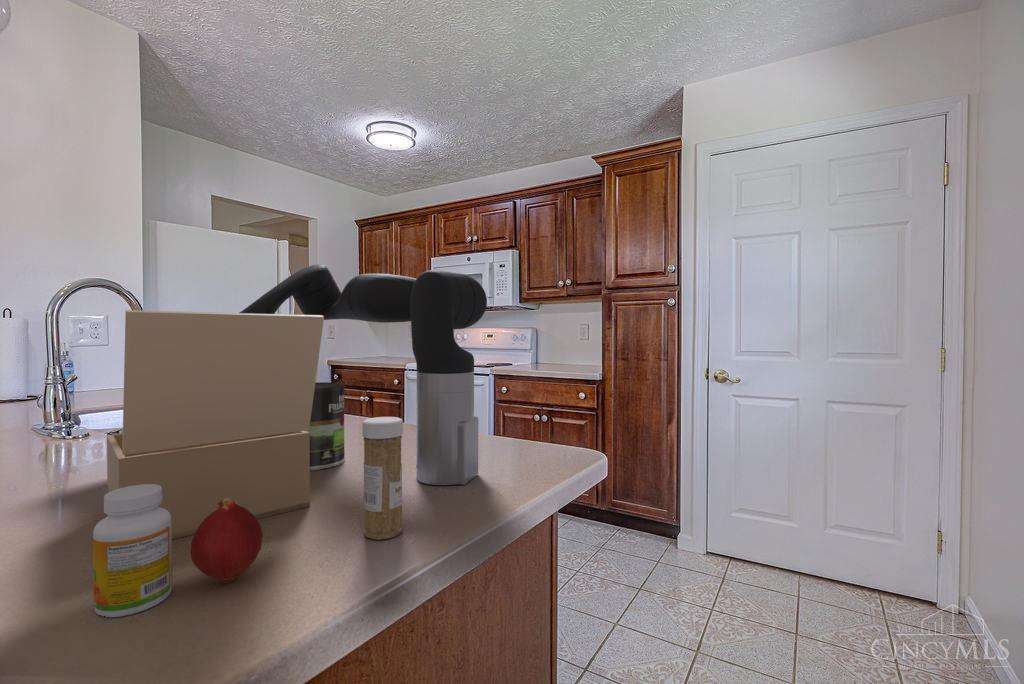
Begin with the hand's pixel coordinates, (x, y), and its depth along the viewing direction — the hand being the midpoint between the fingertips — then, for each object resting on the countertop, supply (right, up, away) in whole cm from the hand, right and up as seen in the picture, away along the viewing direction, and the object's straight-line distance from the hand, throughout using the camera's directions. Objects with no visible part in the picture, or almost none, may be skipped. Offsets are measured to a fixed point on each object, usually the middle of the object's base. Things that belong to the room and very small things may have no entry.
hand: (212, 394), depth 62 cm
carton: (-1, -15, +2) cm, 16 cm away
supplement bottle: (+6, -16, -20) cm, 26 cm away
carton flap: (+6, +3, -6) cm, 9 cm away
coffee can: (+3, -15, +25) cm, 29 cm away
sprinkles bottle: (+23, -16, -5) cm, 29 cm away
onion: (+12, -16, -17) cm, 26 cm away
